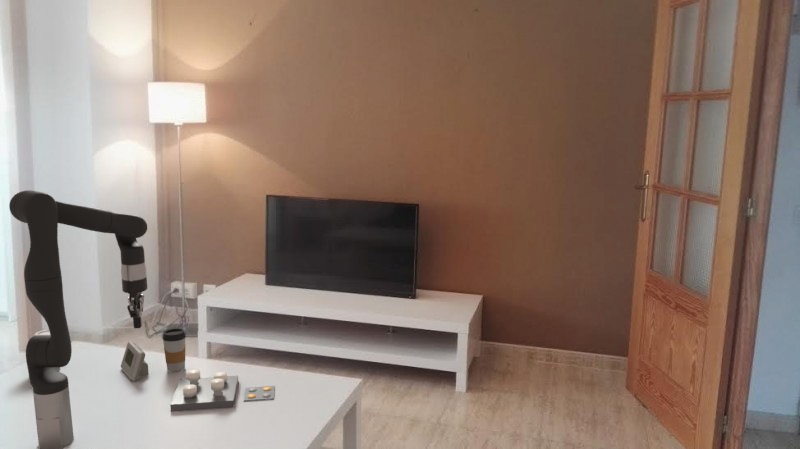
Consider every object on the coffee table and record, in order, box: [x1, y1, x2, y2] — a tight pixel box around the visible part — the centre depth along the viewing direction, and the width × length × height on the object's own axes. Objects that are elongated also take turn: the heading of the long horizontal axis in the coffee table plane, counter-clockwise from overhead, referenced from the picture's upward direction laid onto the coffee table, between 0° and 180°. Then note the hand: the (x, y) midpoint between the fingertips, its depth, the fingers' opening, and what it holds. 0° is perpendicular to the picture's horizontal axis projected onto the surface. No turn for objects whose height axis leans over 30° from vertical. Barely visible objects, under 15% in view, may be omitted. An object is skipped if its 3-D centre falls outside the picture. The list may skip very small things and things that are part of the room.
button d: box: [213, 371, 228, 385], centre depth 229 cm, size 4×4×5 cm
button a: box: [183, 385, 197, 398], centre depth 219 cm, size 4×4×5 cm
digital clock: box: [120, 340, 150, 382], centre depth 241 cm, size 16×9×11 cm, turn 26°
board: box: [169, 375, 239, 412], centre depth 224 cm, size 20×20×2 cm
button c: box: [186, 369, 201, 386], centre depth 227 cm, size 4×4×5 cm
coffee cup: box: [162, 327, 187, 374], centre depth 245 cm, size 8×8×15 cm
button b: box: [211, 379, 224, 396], centre depth 220 cm, size 4×4×5 cm
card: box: [243, 385, 275, 402], centre depth 226 cm, size 10×10×1 cm
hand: (137, 327), depth 213 cm, fingers closed
